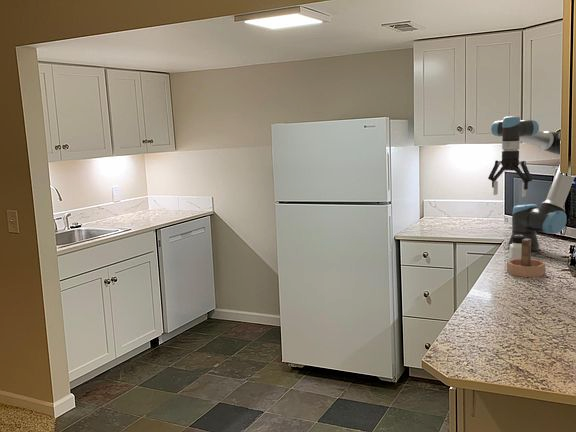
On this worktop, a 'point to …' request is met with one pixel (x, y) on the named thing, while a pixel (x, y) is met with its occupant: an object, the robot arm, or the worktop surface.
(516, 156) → the robot arm
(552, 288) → the worktop surface
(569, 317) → the worktop surface
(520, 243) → the medicine bottle
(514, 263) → the orange octagonal tray
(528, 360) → the worktop surface
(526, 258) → the wooden bar
